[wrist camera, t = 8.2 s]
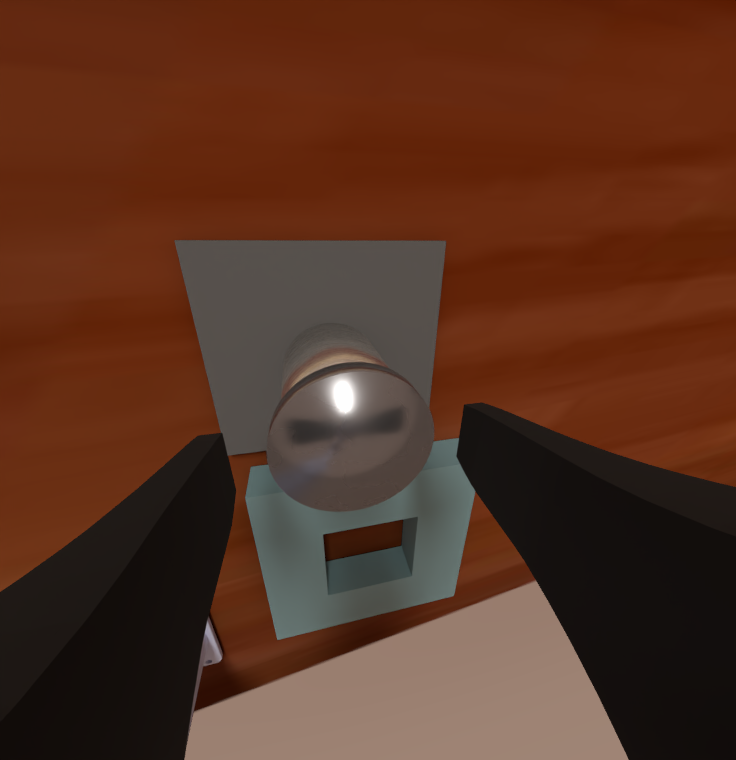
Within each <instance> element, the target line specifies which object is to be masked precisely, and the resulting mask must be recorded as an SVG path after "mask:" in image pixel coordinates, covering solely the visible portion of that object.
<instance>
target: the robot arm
mask: <svg viewBox="0 0 736 760" xmlns="http://www.w3.org/2000/svg"><path fill="white" fill-rule="evenodd" d="M456 457H457V459H458V461H459V463H460V465H461V467H462V469H463V471H464V473H465V475H466V476H467V478H468V480H469V482H470V484H471V485H472V487H473V488H474V490H475V491H476V492H477V494H478V495H479V497H480V498H481V500H482V501H483V502H484V504H485V505H486V507H487V508H488V510H489V511H490V512H491V514H492V515H493V517H494V518H495V519H496V521H497V522H498V523H499V525H500V526H501V528H502V529H503V530H504V532H505V533H506V535H507V536H508V537H509V539H510V540H511V542H512V543H513V544H514V546H515V547H516V549H517V550H518V552H519V553H520V555H521V556H522V558H523V559H524V561H525V562H526V564H527V566H528V567H529V569H530V571H531V572H532V574H533V576H534V578H535V579H536V581H537V583H538V584H539V586H540V588H541V589H542V591H543V593H544V595H545V596H546V598H547V600H548V601H549V603H550V605H551V607H552V609H553V611H554V612H555V614H556V616H557V618H558V620H559V621H560V623H561V625H562V627H563V629H564V631H565V632H566V634H567V636H568V638H569V640H570V642H571V643H572V645H573V647H574V649H575V651H576V653H577V655H578V657H579V659H580V661H581V663H582V665H583V667H584V669H585V670H586V673H587V675H588V677H589V678H590V680H591V682H592V684H593V686H594V688H595V690H596V692H597V694H598V696H599V698H600V700H601V702H602V704H603V706H604V709H605V711H606V712H607V715H608V717H609V719H610V721H611V723H612V725H613V727H614V729H615V732H616V734H617V736H618V738H619V740H620V742H621V744H622V746H623V748H624V750H625V752H626V754H627V757H628V759H629V760H736V487H733V486H728V485H724V484H720V483H716V482H712V481H708V480H704V479H700V478H696V477H692V476H688V475H684V474H681V473H677V472H673V471H669V470H666V469H662V468H659V467H655V466H652V465H648V464H645V463H642V462H639V461H636V460H633V459H629V458H626V457H623V456H620V455H617V454H614V453H611V452H608V451H605V450H602V449H599V448H597V447H594V446H591V445H589V444H586V443H583V442H580V441H578V440H575V439H572V438H570V437H567V436H565V435H562V434H560V433H557V432H555V431H552V430H550V429H547V428H545V427H543V426H540V425H538V424H535V423H533V422H531V421H528V420H526V419H524V418H521V417H519V416H516V415H514V414H512V413H509V412H507V411H504V410H502V409H499V408H496V407H494V406H491V405H488V404H485V403H474V404H466V405H464V410H463V416H462V423H461V429H460V435H459V442H458V448H457V455H456ZM235 495H236V488H235V484H234V479H233V475H232V471H231V467H230V463H229V459H228V454H227V450H226V446H225V442H224V438H223V433H217V434H209V435H200V436H197V437H196V438H195V439H193V440H192V441H191V442H190V443H189V444H187V445H186V446H185V447H184V448H183V449H182V450H181V451H180V452H178V453H177V454H176V455H175V456H174V457H173V458H172V459H171V460H170V461H168V462H167V463H166V464H165V465H164V466H163V467H162V468H161V469H159V470H158V471H157V472H156V473H155V474H154V475H153V476H151V477H150V478H149V479H148V480H147V481H146V482H145V483H144V484H142V485H141V486H140V487H139V488H138V489H137V490H135V491H134V492H133V493H132V494H131V495H129V496H128V497H127V498H126V499H124V500H123V501H122V502H121V503H120V504H118V505H117V506H116V507H115V508H113V509H112V510H111V511H110V512H108V513H107V514H106V515H105V516H104V517H102V518H101V519H100V520H99V521H97V522H96V523H95V524H94V525H93V526H91V527H90V528H89V529H87V530H86V531H85V532H84V533H82V534H81V535H80V536H78V537H77V538H76V539H74V540H73V541H72V542H70V543H69V544H68V545H66V546H65V547H64V548H62V549H61V550H60V551H58V552H57V553H55V554H54V555H53V556H51V557H50V558H48V559H47V560H46V561H44V562H43V563H41V564H40V565H39V566H37V567H36V568H34V569H33V570H32V571H30V572H29V573H27V574H26V575H25V576H23V577H22V578H20V579H19V580H17V581H16V582H14V583H13V584H12V585H10V586H9V587H7V588H6V589H4V590H3V591H1V592H0V760H184V758H185V751H186V745H187V741H188V736H189V731H190V726H191V722H192V717H193V712H194V708H195V703H196V698H197V693H198V689H199V684H200V679H201V674H202V670H203V666H207V665H211V664H215V663H218V662H220V661H221V660H222V656H223V653H222V650H221V647H220V645H219V642H218V639H217V637H216V634H215V632H214V629H213V626H212V624H211V621H210V618H209V613H210V609H211V605H212V601H213V597H214V593H215V589H216V585H217V582H218V578H219V574H220V570H221V566H222V562H223V558H224V554H225V550H226V546H227V542H228V538H229V534H230V530H231V526H232V519H233V512H234V504H235Z"/></svg>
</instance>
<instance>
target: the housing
mask: <svg viewBox="0 0 736 760" xmlns="http://www.w3.org/2000/svg"><path fill="white" fill-rule="evenodd" d="M458 442H459V438H456V439H449V440H441V441H434V442H433V446H432V449H431V452H430V455H429V457H428V460H427V462H426V464H425V465H424V467H423V468H422V470H421V471H420V473H419V474H418V475H417V477H416V478H415V479H414V480H413V481H412V482H411V483H410V484H409V485H408V486H407V487H405V488H404V489H403V490H402V491H400V492H399V493H397V494H396V495H395V496H393V497H391V498H389V499H388V500H386V501H384V502H381V503H379V504H377V505H374V506H371V507H368V508H364V509H360V510H355V511H347V512H331V511H323V510H318V509H314V508H310V507H308V506H305V505H303V504H301V503H299V502H297V501H295V500H293V499H292V498H291V497H289V496H288V495H287V494H286V493H285V492H284V491H283V490H282V489H281V488H280V487H279V486H278V485H277V483H276V482H275V480H274V478H273V476H272V474H271V472H270V469H269V466H268V465H261V466H254V467H251V470H250V475H249V481H248V486H247V491H246V497H245V499H246V504H247V508H248V512H249V517H250V521H251V526H252V530H253V534H254V539H255V543H256V548H257V552H258V556H259V561H260V565H261V570H262V574H263V578H264V583H265V587H266V592H267V596H268V600H269V605H270V609H271V614H272V618H273V622H274V627H275V631H276V636H277V640H280V639H284V638H288V637H292V636H296V635H300V634H304V633H308V632H312V631H316V630H320V629H324V628H328V627H332V626H336V625H340V624H344V623H348V622H352V621H356V620H360V619H364V618H368V617H372V616H376V615H380V614H384V613H388V612H392V611H396V610H400V609H404V608H408V607H412V606H416V605H420V604H424V603H428V602H432V601H436V600H440V599H444V598H447V597H451V596H454V593H455V588H456V583H457V578H458V573H459V568H460V563H461V558H462V553H463V549H464V544H465V539H466V534H467V529H468V524H469V519H470V514H471V509H472V505H473V500H474V495H475V490H474V488H473V487H472V485H471V484H470V482H469V480H468V478H467V476H466V475H465V473H464V471H463V469H462V467H461V465H460V463H459V461H458V459H457V457H456V455H457V448H458ZM397 520H403V531H402V544H401V546H399V547H394V548H389V549H385V550H380V551H375V552H370V553H365V554H360V555H356V556H351V557H346V558H341V559H336V560H331V561H327V562H325V553H324V541H323V534H329V533H334V532H339V531H344V530H350V529H355V528H360V527H366V526H371V525H376V524H381V523H387V522H392V521H397Z"/></svg>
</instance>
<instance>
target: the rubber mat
mask: <svg viewBox="0 0 736 760" xmlns="http://www.w3.org/2000/svg"><path fill="white" fill-rule="evenodd" d="M174 241H175V245H176V249H177V253H178V257H179V261H180V265H181V269H182V274H183V278H184V282H185V286H186V290H187V294H188V298H189V302H190V306H191V311H192V315H193V319H194V323H195V327H196V331H197V335H198V339H199V344H200V348H201V352H202V356H203V360H204V364H205V368H206V372H207V377H208V381H209V385H210V389H211V393H212V397H213V401H214V405H215V409H216V414H217V418H218V422H219V426H220V430H221V433H223V438H224V442H225V446H226V450H227V454H228V455H236V454H244V453H252V452H259V451H267V440H268V433H269V427H270V422H271V418H272V416H273V413H274V411H275V409H276V407H277V405H278V404H279V402H280V400H281V390H282V378H283V365H284V358H285V355H286V352H287V350H288V348H289V346H290V345H291V343H292V342H293V341H294V339H295V338H296V337H297V336H298V335H300V334H301V333H302V332H303V331H305V330H307V329H309V328H311V327H313V326H316V325H319V324H324V323H340V324H345V325H348V326H350V327H353V328H355V329H357V330H358V331H360V332H361V333H362V334H363V335H364V336H365V337H366V338H367V339H368V340H369V341H370V343H371V344H372V345H373V347H374V348H375V350H376V351H377V352H378V354H379V355H380V356H381V358H382V359H383V360H384V362H385V363H386V365H387V366H388V367H389V369H391V370H393V371H395V372H397V373H399V374H400V375H401V376H403V377H404V378H405V379H407V380H408V381H409V382H410V383H411V384H412V385H413V387H414V388H415V389H416V390H417V392H418V393H419V394H420V395H421V397H422V398H423V399H424V401H425V402H426V404H427V406H428V408H429V403H430V393H431V383H432V374H433V364H434V354H435V344H436V335H437V325H438V315H439V305H440V295H441V286H442V276H443V266H444V256H445V247H446V241H251V240H174Z"/></svg>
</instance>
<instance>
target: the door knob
mask: <svg viewBox="0 0 736 760" xmlns="http://www.w3.org/2000/svg"><path fill="white" fill-rule="evenodd" d="M433 440H434V424H433V418H432V415H431V412H430V410H429V408H428V406H427V404H426V402H425V401H424V399H423V398H422V397H421V395H420V394H419V393H418V392H417V390H416V389H415V388H414V387H413V385H412V384H411V383H410V382H409V381H408V380H407V379H405V378H404V377H403V376H401V375H400V374H399V373H397V372H395V371H393V370H391V369H389V367H388V366H387V365H386V363H385V362H384V360H383V359H382V358H381V356H380V355H379V354H378V352H377V351H376V350H375V348H374V347H373V345H372V344H371V343H370V341H369V340H368V339H367V338H366V337H365V336H364V335H363V334H362V333H361V332H360V331H358V330H357V329H355V328H353V327H350V326H348V325H345V324H340V323H324V324H319V325H316V326H313V327H311V328H309V329H307V330H305V331H303V332H302V333H301V334H300V335H298V336H297V337H296V338H295V339H294V341H293V342H292V343H291V345H290V346H289V348H288V350H287V352H286V355H285V358H284V365H283V378H282V390H281V400H280V402H279V404H278V405H277V407H276V409H275V411H274V413H273V416H272V418H271V422H270V427H269V433H268V440H267V462H268V466H269V469H270V472H271V474H272V476H273V478H274V480H275V482H276V483H277V485H278V486H279V487H280V488H281V489H282V490H283V491H284V492H285V493H286V494H287V495H288V496H289V497H291V498H292V499H293V500H295V501H297V502H299V503H301V504H303V505H305V506H308V507H310V508H314V509H318V510H323V511H331V512H347V511H355V510H360V509H364V508H368V507H371V506H374V505H377V504H379V503H381V502H384V501H386V500H388V499H389V498H391V497H393V496H395V495H396V494H397V493H399V492H400V491H402V490H403V489H404V488H405V487H407V486H408V485H409V484H410V483H411V482H412V481H413V480H414V479H415V478H416V477H417V475H418V474H419V473H420V471H421V470H422V468H423V467H424V465H425V464H426V462H427V460H428V457H429V455H430V452H431V449H432V446H433Z"/></svg>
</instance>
